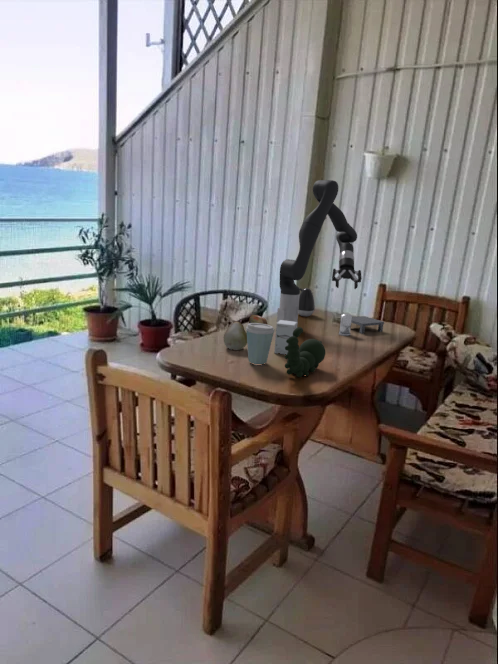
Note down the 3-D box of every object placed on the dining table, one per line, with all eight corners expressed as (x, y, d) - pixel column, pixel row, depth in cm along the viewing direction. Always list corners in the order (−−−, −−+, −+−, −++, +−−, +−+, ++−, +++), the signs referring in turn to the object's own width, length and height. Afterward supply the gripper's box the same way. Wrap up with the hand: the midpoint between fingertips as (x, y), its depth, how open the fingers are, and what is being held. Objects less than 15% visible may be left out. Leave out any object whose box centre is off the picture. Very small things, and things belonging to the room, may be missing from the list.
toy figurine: (301, 388, 170) (331, 364, 190) (304, 334, 164) (335, 315, 184) (276, 382, 175) (308, 359, 195) (278, 329, 168) (311, 311, 189)
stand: (361, 333, 244) (362, 323, 243) (342, 327, 256) (343, 317, 254) (383, 331, 251) (384, 321, 250) (363, 325, 262) (364, 316, 261)
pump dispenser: (304, 312, 287) (306, 286, 283) (317, 316, 279) (320, 289, 275) (291, 314, 280) (293, 287, 276) (305, 318, 273) (307, 290, 269)
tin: (247, 330, 239) (248, 312, 237) (253, 330, 240) (254, 312, 238) (261, 338, 226) (262, 319, 224) (268, 337, 227) (269, 319, 225)
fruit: (250, 347, 209) (251, 319, 207) (244, 353, 201) (245, 324, 198) (226, 344, 212) (228, 316, 209) (219, 350, 203) (220, 321, 200)
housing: (343, 336, 237) (345, 316, 235) (336, 333, 242) (338, 314, 240) (352, 335, 240) (355, 315, 238) (345, 332, 245) (347, 313, 242)
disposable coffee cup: (255, 357, 196) (258, 319, 193) (278, 363, 190) (280, 325, 186) (238, 362, 188) (240, 323, 185) (260, 369, 182) (263, 329, 178)
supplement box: (273, 353, 203) (275, 322, 200) (278, 349, 210) (280, 319, 207) (291, 356, 201) (294, 325, 198) (295, 351, 208) (297, 321, 205)
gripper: (333, 256, 253) (332, 282, 245) (362, 257, 252) (362, 283, 244) (331, 265, 259) (331, 291, 251) (359, 267, 258) (360, 292, 250)
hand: (346, 287), depth 247 cm, fingers open, 8 cm apart
